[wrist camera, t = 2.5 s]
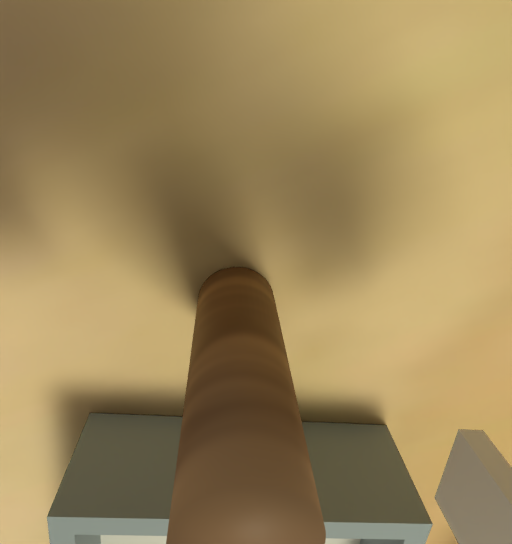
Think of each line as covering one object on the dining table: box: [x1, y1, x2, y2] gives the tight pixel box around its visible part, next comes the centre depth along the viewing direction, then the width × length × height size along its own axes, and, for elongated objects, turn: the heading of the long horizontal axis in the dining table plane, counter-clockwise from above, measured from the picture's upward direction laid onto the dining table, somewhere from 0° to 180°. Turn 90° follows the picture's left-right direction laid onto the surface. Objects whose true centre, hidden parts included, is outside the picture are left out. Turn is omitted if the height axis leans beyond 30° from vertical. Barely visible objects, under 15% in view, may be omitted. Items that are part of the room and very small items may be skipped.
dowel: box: [166, 267, 326, 544], centre depth 15 cm, size 4×4×12 cm
